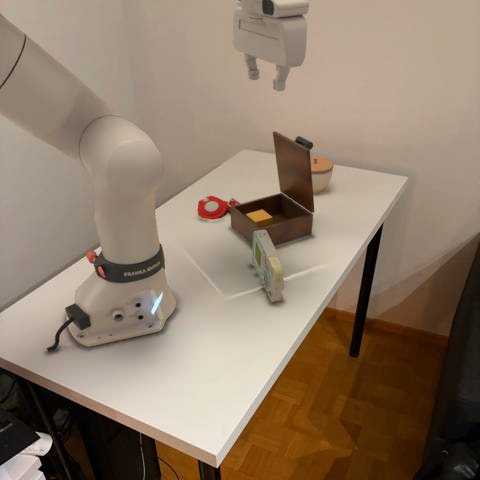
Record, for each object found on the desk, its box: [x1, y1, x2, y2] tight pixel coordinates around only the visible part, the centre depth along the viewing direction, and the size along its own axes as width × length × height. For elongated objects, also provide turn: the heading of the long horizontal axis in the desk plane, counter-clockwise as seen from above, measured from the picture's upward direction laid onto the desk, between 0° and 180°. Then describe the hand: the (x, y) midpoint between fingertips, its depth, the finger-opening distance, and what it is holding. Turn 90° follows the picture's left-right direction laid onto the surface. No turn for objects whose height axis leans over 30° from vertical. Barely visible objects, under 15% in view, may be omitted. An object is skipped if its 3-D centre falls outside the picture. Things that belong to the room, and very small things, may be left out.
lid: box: [272, 130, 315, 214], centre depth 119 cm, size 16×15×5 cm
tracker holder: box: [197, 195, 242, 220], centre depth 134 cm, size 12×4×10 cm
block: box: [246, 209, 273, 228], centre depth 122 cm, size 5×5×5 cm
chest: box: [229, 192, 314, 247], centre depth 123 cm, size 16×15×6 cm
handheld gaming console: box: [251, 230, 285, 303], centre depth 105 cm, size 11×3×15 cm
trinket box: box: [310, 156, 334, 194], centre depth 142 cm, size 11×11×9 cm
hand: (265, 84), depth 92 cm, fingers open, 8 cm apart
